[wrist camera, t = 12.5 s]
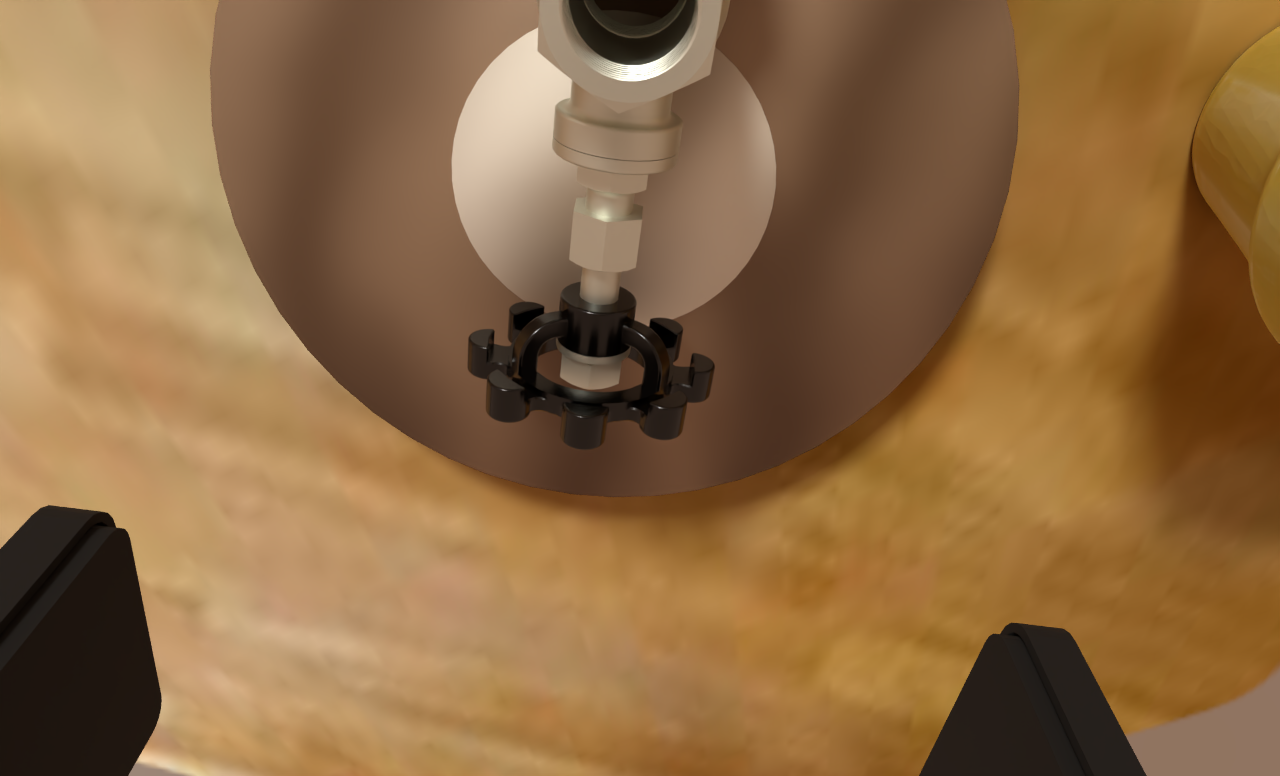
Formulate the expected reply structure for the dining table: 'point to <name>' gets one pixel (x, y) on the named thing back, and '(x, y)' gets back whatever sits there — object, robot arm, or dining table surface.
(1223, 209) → the plant pot
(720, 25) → the valve
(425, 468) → the dining table surface
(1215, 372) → the dining table surface
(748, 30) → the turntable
